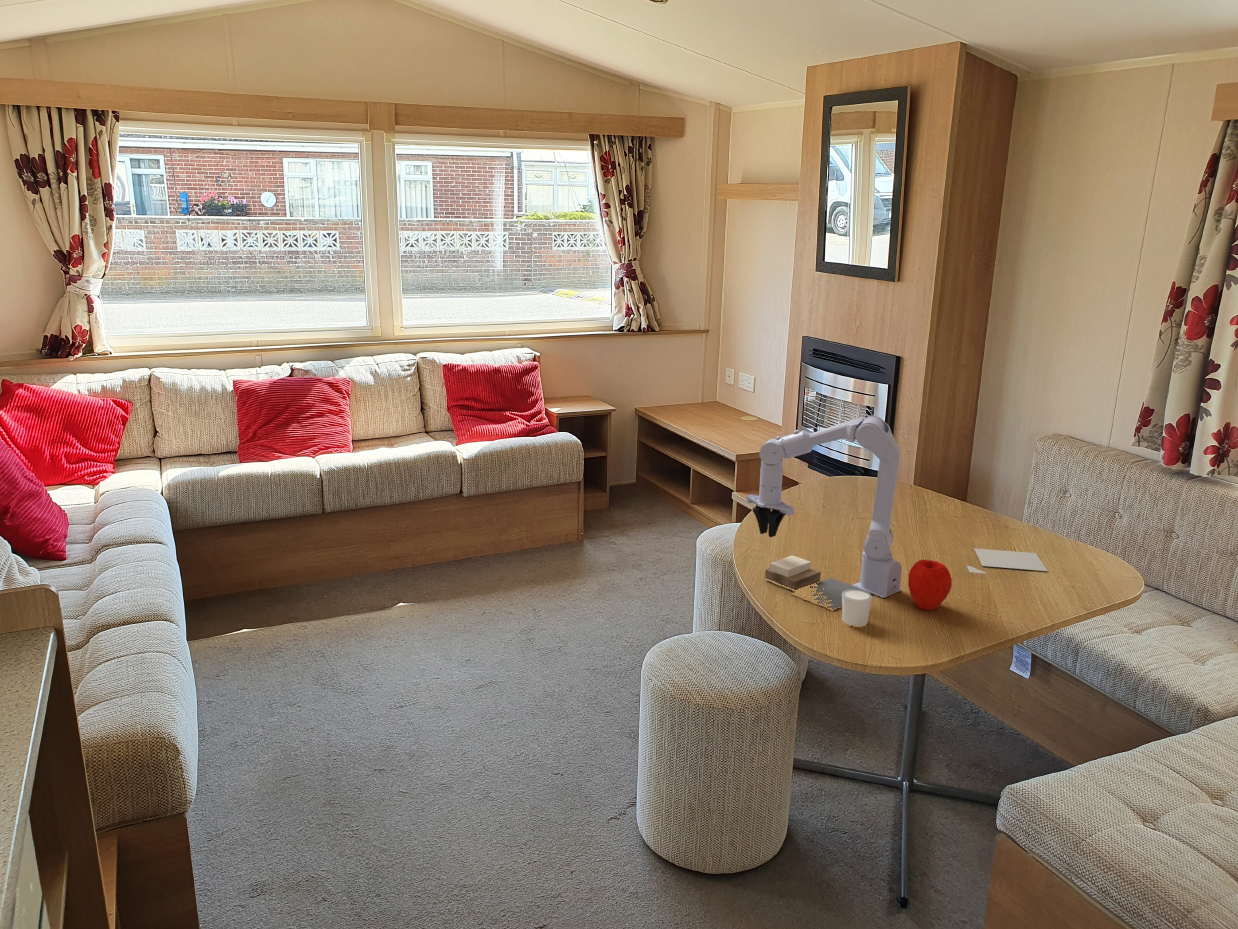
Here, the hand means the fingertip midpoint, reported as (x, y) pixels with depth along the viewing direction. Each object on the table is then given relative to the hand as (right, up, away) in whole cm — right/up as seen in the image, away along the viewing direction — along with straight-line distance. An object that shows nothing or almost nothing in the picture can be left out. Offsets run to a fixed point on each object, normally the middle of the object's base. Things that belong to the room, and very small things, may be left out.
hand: (767, 534), depth 239 cm
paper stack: (+64, -10, +9) cm, 66 cm away
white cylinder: (+16, -19, -27) cm, 37 cm away
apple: (+36, -16, -18) cm, 43 cm away
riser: (+6, -12, -4) cm, 14 cm away
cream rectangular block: (+5, -9, -4) cm, 11 cm away
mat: (+14, -14, -12) cm, 23 cm away
